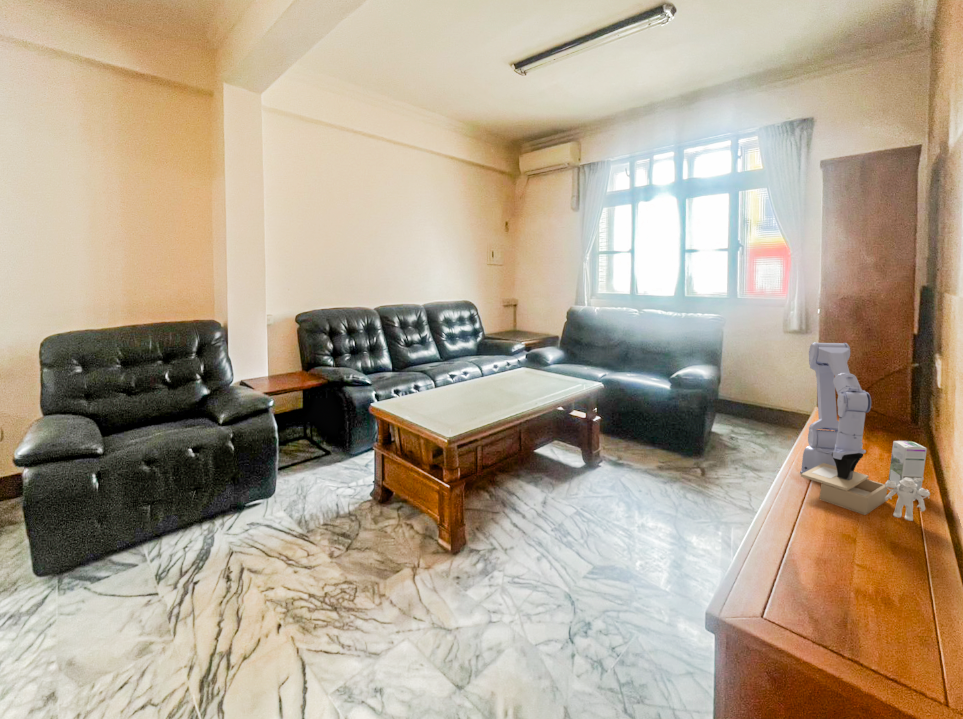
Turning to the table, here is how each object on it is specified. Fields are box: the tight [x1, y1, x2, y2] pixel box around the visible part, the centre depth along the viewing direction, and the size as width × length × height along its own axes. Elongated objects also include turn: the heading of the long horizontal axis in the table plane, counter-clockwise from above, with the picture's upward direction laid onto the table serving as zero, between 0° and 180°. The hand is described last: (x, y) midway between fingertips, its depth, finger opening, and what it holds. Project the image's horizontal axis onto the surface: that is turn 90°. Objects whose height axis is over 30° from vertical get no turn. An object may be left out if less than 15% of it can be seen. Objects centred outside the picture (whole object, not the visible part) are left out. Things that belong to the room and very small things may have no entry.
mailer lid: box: [800, 463, 870, 491], centre depth 137 cm, size 12×15×3 cm
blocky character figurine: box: [884, 476, 931, 522], centre depth 123 cm, size 9×4×12 cm, turn 40°
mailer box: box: [819, 478, 889, 516], centre depth 133 cm, size 11×14×5 cm
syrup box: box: [888, 440, 928, 491], centre depth 138 cm, size 6×6×14 cm
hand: (844, 476), depth 135 cm, fingers closed on mailer lid, 2 cm apart
